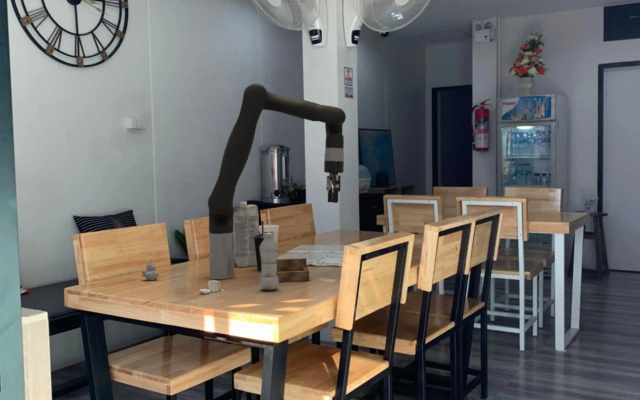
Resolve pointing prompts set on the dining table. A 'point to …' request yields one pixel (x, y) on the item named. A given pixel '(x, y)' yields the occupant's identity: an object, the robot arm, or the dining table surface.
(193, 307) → the dining table surface
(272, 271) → the plastic bottle
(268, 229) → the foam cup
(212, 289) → the teacup and saucer
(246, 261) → the juice carton
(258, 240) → the drinking cup
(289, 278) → the drawer
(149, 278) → the rubber duck
